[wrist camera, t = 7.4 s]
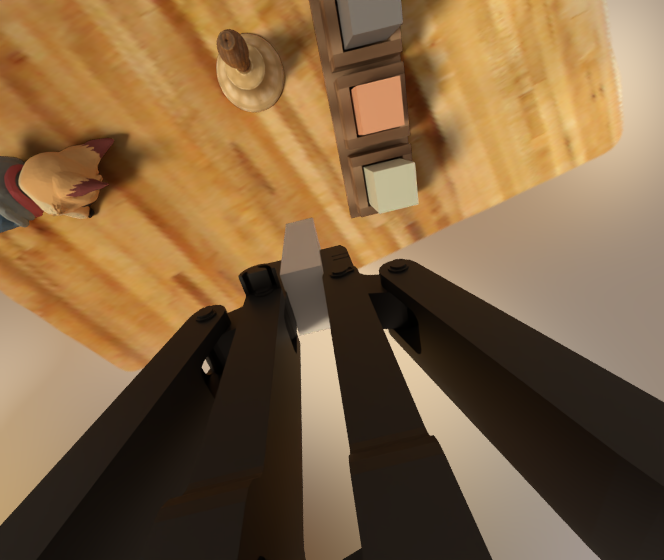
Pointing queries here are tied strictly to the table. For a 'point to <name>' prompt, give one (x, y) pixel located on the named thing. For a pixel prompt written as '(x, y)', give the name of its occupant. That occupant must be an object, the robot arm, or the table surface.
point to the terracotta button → (377, 105)
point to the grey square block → (368, 20)
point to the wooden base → (340, 78)
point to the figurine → (51, 184)
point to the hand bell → (249, 71)
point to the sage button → (391, 185)
